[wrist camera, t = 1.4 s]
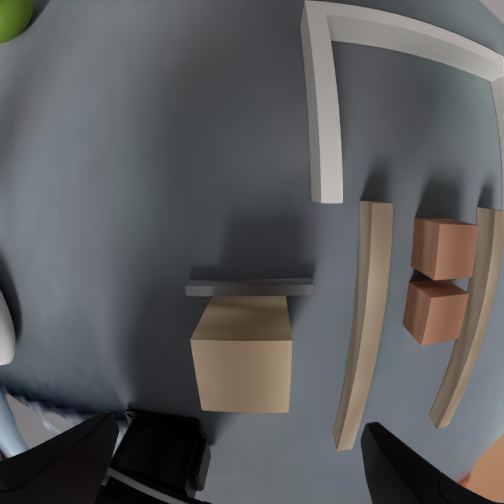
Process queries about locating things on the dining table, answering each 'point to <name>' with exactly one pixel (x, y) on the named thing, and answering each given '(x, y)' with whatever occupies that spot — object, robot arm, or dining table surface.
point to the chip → (444, 248)
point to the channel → (373, 307)
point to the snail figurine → (14, 18)
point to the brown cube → (434, 311)
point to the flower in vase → (6, 333)
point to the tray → (384, 36)
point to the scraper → (245, 343)
